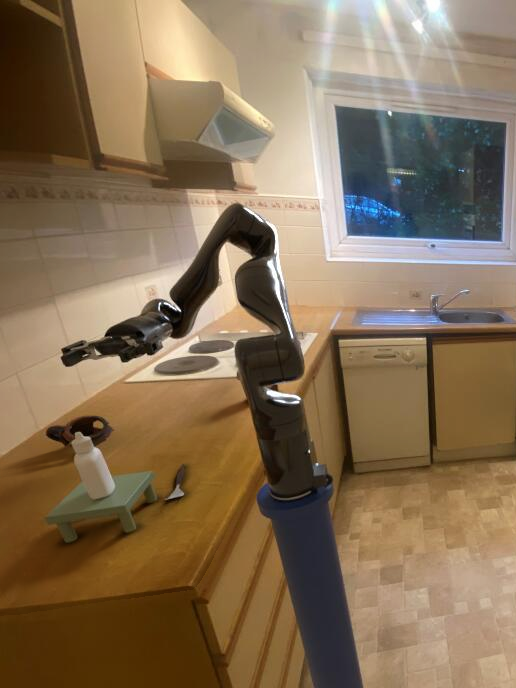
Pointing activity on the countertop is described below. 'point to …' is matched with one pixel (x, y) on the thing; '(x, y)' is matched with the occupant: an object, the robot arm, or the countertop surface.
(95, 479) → the eye dropper bottle
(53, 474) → the countertop surface
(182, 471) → the fork
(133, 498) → the stool
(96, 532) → the countertop surface
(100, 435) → the pottery mug
